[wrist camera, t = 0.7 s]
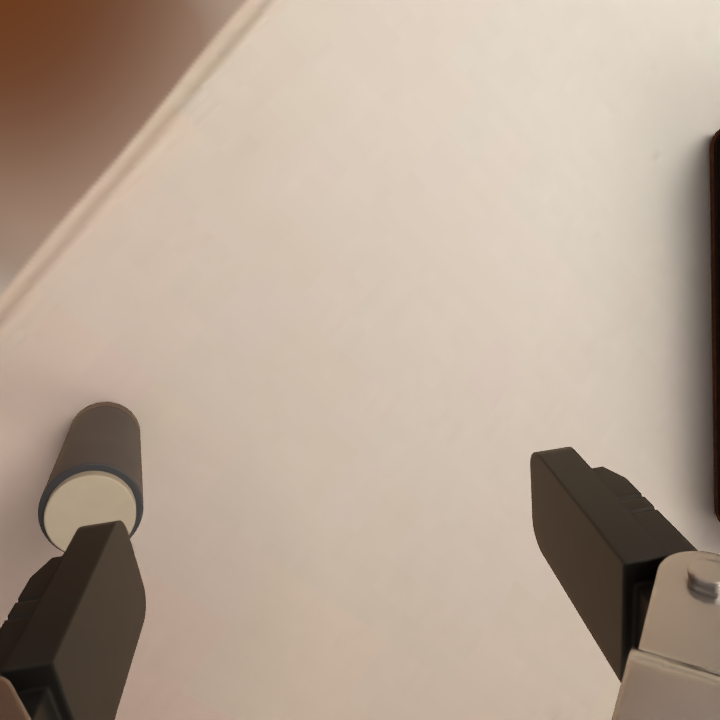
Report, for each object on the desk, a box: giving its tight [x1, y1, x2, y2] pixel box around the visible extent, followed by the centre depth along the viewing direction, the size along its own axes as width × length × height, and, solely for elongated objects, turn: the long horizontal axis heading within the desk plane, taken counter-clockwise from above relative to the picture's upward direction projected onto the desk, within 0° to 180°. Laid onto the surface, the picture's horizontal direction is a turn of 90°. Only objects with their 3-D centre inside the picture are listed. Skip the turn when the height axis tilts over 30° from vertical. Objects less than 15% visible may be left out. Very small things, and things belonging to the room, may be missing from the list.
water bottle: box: [38, 402, 143, 552], centre depth 23 cm, size 3×3×10 cm
